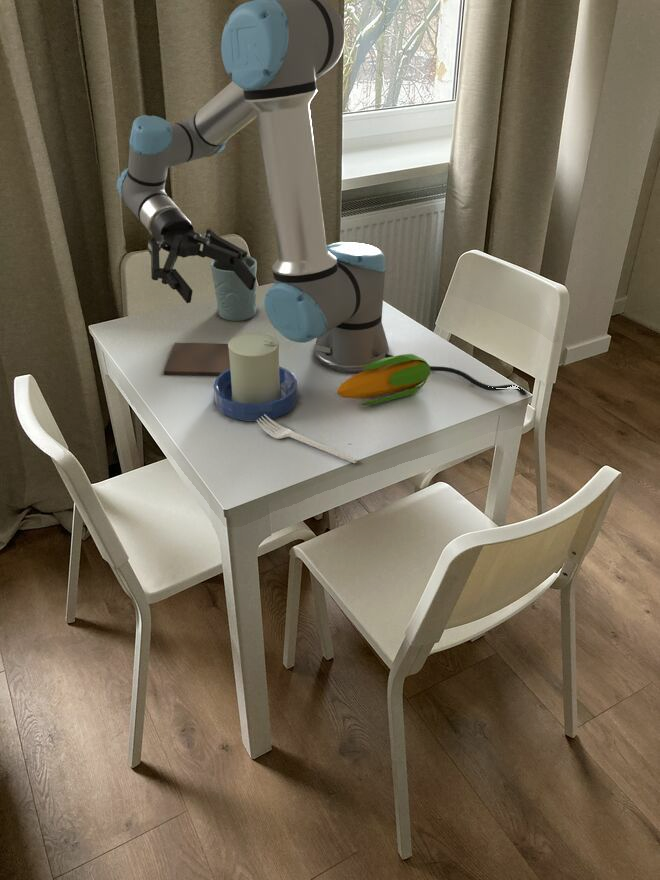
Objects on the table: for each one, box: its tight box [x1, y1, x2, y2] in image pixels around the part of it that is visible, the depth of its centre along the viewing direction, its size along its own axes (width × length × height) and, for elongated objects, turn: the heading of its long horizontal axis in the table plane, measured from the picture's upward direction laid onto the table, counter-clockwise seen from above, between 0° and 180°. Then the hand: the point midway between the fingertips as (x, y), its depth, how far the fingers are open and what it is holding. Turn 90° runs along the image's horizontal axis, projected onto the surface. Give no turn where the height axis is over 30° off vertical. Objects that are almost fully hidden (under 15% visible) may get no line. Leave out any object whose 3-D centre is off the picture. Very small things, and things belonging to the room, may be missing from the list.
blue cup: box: [210, 255, 258, 322], centre depth 167 cm, size 10×10×12 cm
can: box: [227, 331, 281, 404], centre depth 136 cm, size 9×9×12 cm
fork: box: [256, 414, 358, 464], centre depth 128 cm, size 3×20×2 cm, turn 56°
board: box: [163, 342, 230, 377], centre depth 151 cm, size 18×12×1 cm, turn 89°
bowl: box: [213, 365, 298, 422], centre depth 139 cm, size 15×15×4 cm
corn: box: [336, 353, 431, 407], centre depth 139 cm, size 7×8×20 cm
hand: (222, 290), depth 138 cm, fingers open, 13 cm apart
